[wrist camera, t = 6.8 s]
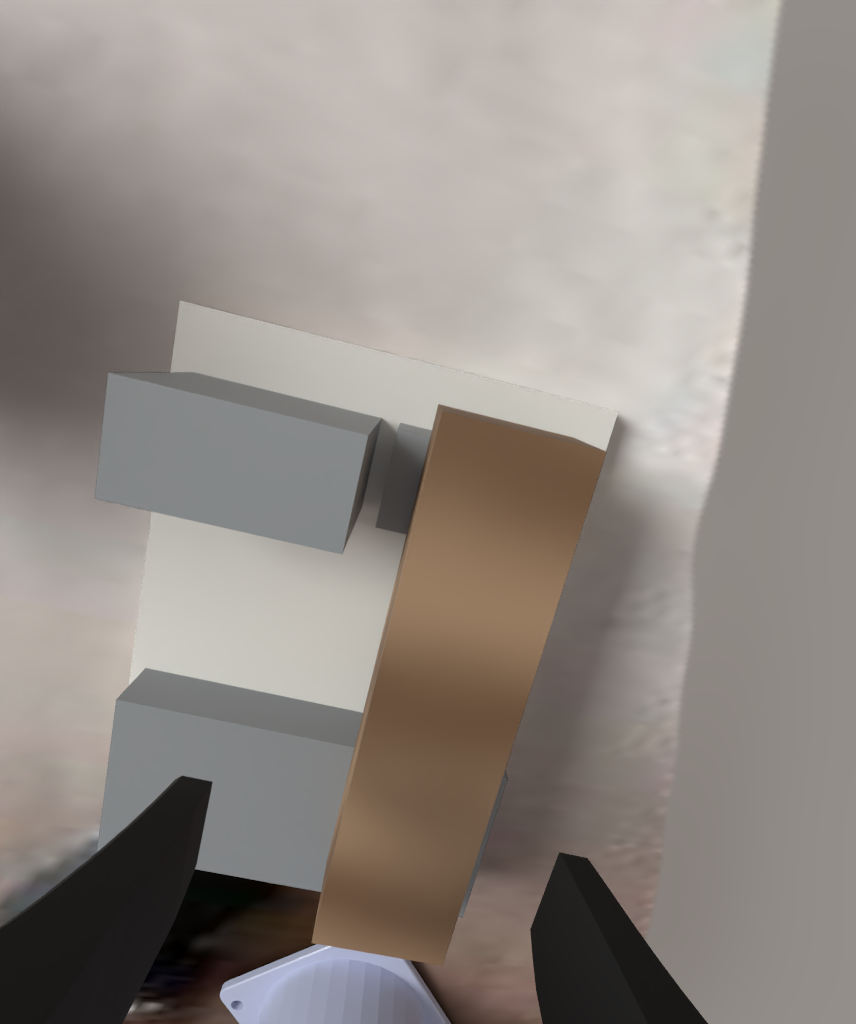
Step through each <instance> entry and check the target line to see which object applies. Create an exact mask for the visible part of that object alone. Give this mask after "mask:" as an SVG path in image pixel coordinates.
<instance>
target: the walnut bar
mask: <svg viewBox="0 0 856 1024" xmlns="http://www.w3.org/2000/svg"><path fill="white" fill-rule="evenodd" d="M605 455H606V451H604V450H601V449H599V448H597V447H594V446H592V445H590V444H587V443H585V442H583V441H580V440H578V439H576V438H573V437H570V436H566V435H562V434H558V433H553V432H549V431H545V430H541V429H537V428H533V427H529V426H525V425H521V424H517V423H513V422H509V421H505V420H501V419H497V418H493V417H489V416H485V415H481V414H477V413H473V412H469V411H464V410H460V409H456V408H452V407H448V406H444V405H440V404H438V407H437V411H436V416H435V420H434V424H433V428H432V432H431V436H430V440H429V444H428V448H427V452H426V457H425V461H424V465H423V469H422V473H421V477H420V481H419V485H418V489H417V493H416V498H415V502H414V506H413V510H412V514H411V518H410V522H409V526H408V530H407V534H406V539H405V543H404V547H403V551H402V555H401V559H400V563H399V567H398V571H397V575H396V580H395V584H394V588H393V592H392V596H391V600H390V604H389V608H388V612H387V616H386V621H385V625H384V629H383V633H382V637H381V641H380V645H379V649H378V653H377V657H376V662H375V666H374V670H373V674H372V678H371V682H370V686H369V690H368V694H367V698H366V703H365V707H364V711H363V715H362V719H361V723H360V727H359V731H358V735H357V739H356V744H355V748H354V752H353V756H352V760H351V764H350V768H349V772H348V776H347V780H346V784H345V789H344V793H343V797H342V801H341V805H340V809H339V813H338V817H337V821H336V825H335V830H334V834H333V838H332V842H331V846H330V850H329V854H328V858H327V863H326V869H325V874H324V879H323V885H322V890H321V895H320V901H319V906H318V911H317V917H316V922H315V927H314V932H313V938H312V943H314V944H320V945H326V946H332V947H337V948H343V949H349V950H354V951H360V952H366V953H372V954H377V955H383V956H389V957H394V958H400V959H406V960H412V961H417V962H423V963H429V964H434V965H440V966H443V962H444V959H445V956H446V953H447V950H448V947H449V944H450V941H451V937H452V934H453V931H454V928H455V925H456V922H457V919H458V915H459V912H460V909H461V906H462V903H463V900H464V897H465V894H466V890H467V887H468V884H469V881H470V878H471V875H472V872H473V868H474V865H475V862H476V859H477V856H478V853H479V850H480V847H481V843H482V840H483V837H484V834H485V831H486V828H487V825H488V822H489V818H490V815H491V812H492V809H493V806H494V803H495V800H496V796H497V793H498V790H499V787H500V784H501V781H502V778H503V775H504V771H505V768H506V765H507V762H508V759H509V756H510V753H511V749H512V746H513V743H514V740H515V737H516V734H517V731H518V728H519V724H520V721H521V718H522V715H523V712H524V709H525V706H526V702H527V699H528V696H529V693H530V690H531V687H532V684H533V681H534V677H535V674H536V671H537V668H538V665H539V662H540V659H541V656H542V652H543V649H544V646H545V643H546V640H547V637H548V634H549V630H550V627H551V624H552V621H553V618H554V615H555V612H556V609H557V605H558V602H559V599H560V596H561V593H562V590H563V587H564V583H565V580H566V577H567V574H568V571H569V568H570V565H571V562H572V558H573V555H574V552H575V549H576V546H577V543H578V540H579V537H580V533H581V530H582V527H583V524H584V521H585V518H586V515H587V511H588V508H589V505H590V502H591V499H592V496H593V493H594V490H595V486H596V483H597V480H598V477H599V474H600V471H601V468H602V464H603V461H604V458H605Z"/></svg>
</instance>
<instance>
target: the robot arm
mask: <svg viewBox="0 0 856 1024" xmlns="http://www.w3.org/2000/svg"><path fill="white" fill-rule="evenodd" d="M212 783H213V782H212V781H207V780H202V779H197V778H192V777H187V776H180V777H179V778H177V779H175V780H174V781H173V782H172V783H171V784H170V785H169V786H168V787H167V788H166V789H165V790H164V791H163V792H162V793H161V794H160V795H159V796H158V797H157V798H156V799H155V800H154V801H153V802H152V803H151V804H150V805H149V806H148V807H147V808H146V809H145V810H144V811H143V812H142V813H141V814H140V815H139V816H137V817H136V818H135V819H134V820H133V821H132V822H131V823H130V824H129V825H128V826H127V827H126V828H124V829H123V830H122V831H121V832H120V833H119V834H117V835H116V836H115V837H114V838H113V839H112V840H111V841H109V842H108V843H107V844H106V845H105V846H104V847H103V848H101V849H100V850H99V851H98V852H97V853H96V854H95V855H93V856H92V857H91V858H90V859H89V860H87V861H86V862H85V863H84V864H83V865H81V866H80V867H79V868H78V869H76V870H75V871H74V872H73V873H71V874H70V875H69V876H67V877H66V878H65V879H64V880H62V881H61V882H60V883H59V884H57V885H56V886H55V887H54V888H52V889H51V890H50V891H49V892H47V893H46V894H45V895H44V896H42V897H41V898H40V899H38V900H37V901H36V902H34V903H33V904H32V905H30V906H29V907H28V908H26V909H25V910H24V911H22V912H21V913H19V914H18V915H17V916H15V917H14V918H13V919H11V920H10V921H8V922H7V923H5V924H4V925H3V926H1V927H0V1024H122V1023H123V1021H124V1019H125V1017H126V1015H127V1013H128V1011H129V1009H130V1007H131V1005H132V1003H133V1002H134V1000H135V998H136V996H137V994H138V992H139V990H140V988H141V986H142V984H143V982H144V980H145V978H146V976H147V974H148V972H149V970H150V968H151V966H152V964H153V962H154V960H155V958H156V956H157V954H158V952H159V950H160V949H161V947H162V945H163V943H164V941H165V939H166V937H167V935H168V933H169V931H170V929H171V927H172V925H173V923H174V920H175V918H176V915H177V913H178V910H179V908H180V905H181V903H182V900H183V898H184V896H185V893H186V890H187V888H188V885H189V883H190V880H191V878H192V875H193V873H194V870H195V868H196V865H197V860H198V855H199V850H200V845H201V840H202V834H203V829H204V824H205V819H206V814H207V809H208V804H209V799H210V793H211V788H212ZM530 930H531V941H532V953H533V964H534V973H535V983H536V991H537V996H538V1001H539V1007H540V1012H541V1017H542V1022H543V1024H708V1023H707V1022H706V1021H705V1019H704V1018H703V1017H702V1015H701V1014H700V1013H699V1012H698V1010H697V1009H696V1008H695V1007H694V1005H693V1004H692V1003H691V1001H690V1000H689V999H688V998H687V996H686V995H685V994H684V993H683V991H682V990H681V989H680V988H679V986H678V985H677V983H676V982H675V981H674V979H673V978H672V977H671V975H670V974H669V973H668V971H667V970H666V969H665V967H664V966H663V965H662V963H661V962H660V961H659V959H658V958H657V957H656V955H655V954H654V953H653V951H652V950H651V948H650V947H649V946H648V944H647V943H646V941H645V940H644V938H643V937H642V936H641V934H640V933H639V931H638V930H637V929H636V927H635V926H634V924H633V923H632V921H631V920H630V918H629V917H628V916H627V914H626V913H625V911H624V910H623V908H622V907H621V906H620V904H619V903H618V901H617V900H616V898H615V897H614V895H613V894H612V892H611V891H610V890H609V888H608V887H607V885H606V884H605V882H604V881H603V879H602V878H601V877H600V875H599V874H598V872H597V871H596V869H595V868H594V867H593V865H592V864H591V863H590V861H589V860H588V858H584V857H579V856H574V855H569V854H564V853H560V852H559V855H558V857H557V860H556V863H555V865H554V868H553V871H552V873H551V876H550V879H549V881H548V884H547V887H546V889H545V892H544V895H543V897H542V900H541V903H540V905H539V908H538V911H537V913H536V916H535V919H534V921H533V924H532V927H531V929H530ZM220 998H221V1000H222V1002H223V1003H224V1004H225V1006H226V1007H227V1008H228V1009H229V1011H230V1012H231V1013H232V1015H233V1016H234V1017H235V1018H236V1020H237V1021H238V1022H239V1024H451V1023H450V1021H449V1020H448V1018H447V1016H446V1015H445V1013H444V1012H443V1010H442V1009H441V1007H440V1006H439V1004H438V1003H437V1001H436V1000H435V998H434V996H433V995H432V993H431V992H430V990H429V989H428V987H427V986H426V984H425V983H424V981H423V979H422V978H421V976H420V975H419V973H418V972H417V970H416V969H415V967H414V966H413V964H412V962H411V961H410V960H406V959H400V958H394V957H389V956H383V955H377V954H372V953H366V952H360V951H354V950H349V949H343V948H337V947H332V946H326V945H320V944H316V945H314V946H311V947H309V948H306V949H304V950H301V951H299V952H297V953H294V954H292V955H289V956H287V957H284V958H282V959H280V960H277V961H275V962H272V963H270V964H267V965H265V966H263V967H260V968H258V969H255V970H253V971H250V972H248V973H246V974H243V975H241V976H238V977H236V978H233V979H231V980H229V981H227V982H225V983H224V984H223V986H222V989H221V992H220Z"/></svg>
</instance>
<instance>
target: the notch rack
mask: <svg viewBox="0 0 856 1024" xmlns="http://www.w3.org/2000/svg"><path fill="white" fill-rule="evenodd" d="M438 404H440V405H444V406H448V407H452V408H456V409H460V410H464V411H469V412H473V413H477V414H481V415H485V416H489V417H493V418H497V419H501V420H505V421H509V422H513V423H517V424H521V425H525V426H529V427H533V428H537V429H541V430H545V431H549V432H553V433H558V434H562V435H566V436H570V437H573V438H576V439H578V440H580V441H583V442H585V443H587V444H590V445H592V446H594V447H597V448H599V449H601V450H604V451H606V449H607V446H608V443H609V440H610V437H611V434H612V430H613V427H614V424H615V421H616V418H617V415H618V412H619V411H616V410H612V409H608V408H604V407H600V406H596V405H592V404H588V403H584V402H580V401H576V400H572V399H568V398H564V397H560V396H556V395H553V394H549V393H545V392H541V391H537V390H533V389H529V388H525V387H521V386H517V385H513V384H509V383H505V382H501V381H497V380H493V379H489V378H485V377H481V376H477V375H473V374H469V373H465V372H462V371H458V370H454V369H450V368H446V367H442V366H438V365H434V364H430V363H426V362H422V361H418V360H414V359H410V358H406V357H402V356H398V355H394V354H390V353H386V352H382V351H378V350H375V349H371V348H367V347H363V346H359V345H355V344H351V343H347V342H343V341H339V340H335V339H331V338H327V337H323V336H319V335H315V334H311V333H307V332H303V331H299V330H295V329H291V328H287V327H284V326H280V325H276V324H272V323H268V322H264V321H260V320H256V319H252V318H248V317H244V316H240V315H236V314H232V313H228V312H224V311H220V310H216V309H212V308H208V307H204V306H200V305H197V304H193V303H189V302H185V301H181V300H180V302H179V310H178V317H177V325H176V332H175V340H174V347H173V355H172V362H171V370H170V372H119V373H108V379H107V388H106V397H105V407H104V416H103V425H102V435H101V444H100V453H99V462H98V472H97V481H96V490H95V499H98V500H103V501H107V502H112V503H116V504H121V505H125V506H129V507H134V508H138V509H143V510H147V511H152V513H151V521H150V528H149V536H148V543H147V551H146V558H145V566H144V573H143V581H142V588H141V596H140V603H139V611H138V618H137V626H136V634H135V641H134V649H133V656H132V664H131V671H130V679H129V686H128V687H127V689H126V690H125V691H124V692H123V693H122V694H121V695H120V696H119V697H118V698H117V699H116V706H115V714H114V722H113V730H112V737H111V745H110V753H109V761H108V769H107V776H106V784H105V792H104V800H103V808H102V816H101V823H100V831H99V839H98V847H97V851H99V850H100V849H101V848H103V847H104V846H105V845H106V844H107V843H108V842H109V841H111V840H112V839H113V838H114V837H115V836H116V835H117V834H119V833H120V832H121V831H122V830H123V829H124V828H126V827H127V826H128V825H129V824H130V823H131V822H132V821H133V820H134V819H135V818H136V817H137V816H139V815H140V814H141V813H142V812H143V811H144V810H145V809H146V808H147V807H148V806H149V805H150V804H151V803H152V802H153V801H154V800H155V799H156V798H157V797H158V796H159V795H160V794H161V793H162V792H163V791H164V790H165V789H166V788H167V787H168V786H169V785H170V784H171V783H172V782H173V781H174V780H175V779H177V778H179V777H180V776H187V777H192V778H197V779H202V780H207V781H212V782H213V783H212V788H211V793H210V799H209V804H208V809H207V814H206V819H205V824H204V829H203V834H202V840H201V845H200V850H199V855H198V860H197V865H196V868H195V869H198V870H204V871H209V872H215V873H220V874H225V875H231V876H236V877H242V878H247V879H253V880H258V881H264V882H269V883H275V884H280V885H286V886H291V887H297V888H302V889H308V890H313V891H319V892H321V890H322V885H323V879H324V874H325V869H326V863H327V858H328V854H329V850H330V846H331V842H332V838H333V834H334V830H335V825H336V821H337V817H338V813H339V809H340V805H341V801H342V797H343V793H344V789H345V784H346V780H347V776H348V772H349V768H350V764H351V760H352V756H353V752H354V748H355V744H356V739H357V735H358V731H359V727H360V723H361V719H362V715H363V711H364V707H365V703H366V698H367V694H368V690H369V686H370V682H371V678H372V674H373V670H374V666H375V662H376V657H377V653H378V649H379V645H380V641H381V637H382V633H383V629H384V625H385V621H386V616H387V612H388V608H389V604H390V600H391V596H392V592H393V588H394V584H395V580H396V575H397V571H398V567H399V563H400V559H401V555H402V551H403V547H404V543H405V539H406V534H407V530H408V526H409V522H410V518H411V514H412V510H413V506H414V502H415V498H416V493H417V489H418V485H419V481H420V477H421V473H422V469H423V465H424V461H425V457H426V452H427V448H428V444H429V440H430V436H431V432H432V428H433V424H434V420H435V416H436V411H437V407H438ZM507 779H508V778H507V773H506V769H505V771H504V775H503V778H502V781H501V784H500V787H499V790H498V793H497V796H496V800H495V803H494V806H493V809H492V812H491V815H490V818H489V822H488V825H487V828H486V831H485V834H484V837H483V840H482V843H481V847H480V850H479V853H478V856H477V859H476V862H475V865H474V868H473V872H472V875H471V878H470V881H469V884H468V887H467V890H466V894H465V897H464V900H463V903H462V906H461V909H460V912H459V915H458V917H462V918H463V915H464V912H465V909H466V906H467V903H468V900H469V897H470V894H471V890H472V887H473V884H474V881H475V878H476V875H477V872H478V869H479V866H480V863H481V859H482V856H483V853H484V850H485V847H486V844H487V841H488V838H489V835H490V832H491V828H492V825H493V822H494V819H495V816H496V813H497V810H498V807H499V804H500V801H501V797H502V794H503V791H504V788H505V785H506V782H507Z"/></svg>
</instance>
